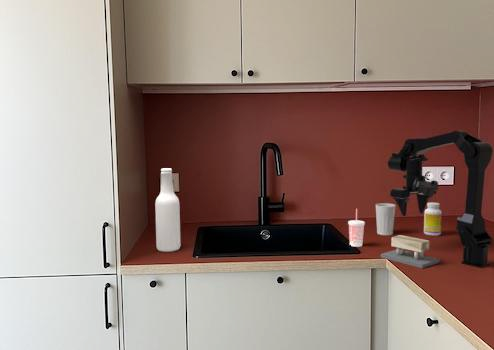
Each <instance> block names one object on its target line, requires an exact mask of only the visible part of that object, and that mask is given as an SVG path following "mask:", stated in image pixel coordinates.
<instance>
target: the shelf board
mask: <svg viewBox="0 0 494 350" xmlns="http://www.w3.org/2000/svg"><path fill="white" fill-rule="evenodd" d="M390 244H391V247H395V248H396V247H398V248H400V249H402V248H403V249H405V250H407V251H411V252H414V251H417V252H418V253H420V252H423V253H424V252H426V251H429V250H430V240H427V239H424V238H418V237H417V238H416V237H412V236H407V235H401V234H398V235H395V236H392V237H391V243H390Z"/></svg>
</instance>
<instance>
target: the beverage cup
mask: <svg viewBox="0 0 494 350" xmlns="http://www.w3.org/2000/svg"><path fill="white" fill-rule="evenodd" d="M365 224H366V221H363V220H359V219H358V208H356V209H355V219H353V220H352V219H351V220H348V221H347V225H348V236H349V246H350V245H351V247H358V248H359V247H362V246H363V241H364V228H365Z"/></svg>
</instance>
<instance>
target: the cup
mask: <svg viewBox="0 0 494 350" xmlns="http://www.w3.org/2000/svg"><path fill="white" fill-rule="evenodd" d="M396 207H397V206H396V204H393V203H387V202H385V203H383V202H382V203H376V204H375V215H376V216H375V217H376V219H375V220H376V233H377V235H380V236H391V235H393V234H394V225H395V224H394V223H395V215H396V214H395V212H396Z"/></svg>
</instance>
